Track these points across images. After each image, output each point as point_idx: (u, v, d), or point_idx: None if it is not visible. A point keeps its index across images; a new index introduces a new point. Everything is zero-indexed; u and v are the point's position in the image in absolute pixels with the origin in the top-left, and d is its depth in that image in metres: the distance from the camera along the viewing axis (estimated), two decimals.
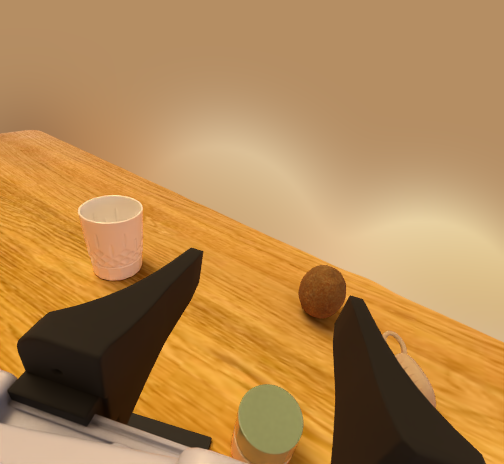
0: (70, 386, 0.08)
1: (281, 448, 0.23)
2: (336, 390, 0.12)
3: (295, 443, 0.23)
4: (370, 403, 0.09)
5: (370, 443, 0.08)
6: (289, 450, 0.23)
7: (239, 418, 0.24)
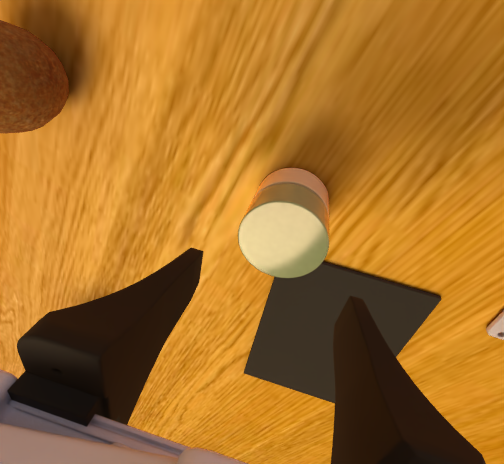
0: (70, 386, 0.08)
1: (322, 237, 0.17)
2: (336, 390, 0.12)
3: (317, 218, 0.16)
4: (370, 403, 0.09)
5: (370, 443, 0.08)
6: (324, 226, 0.17)
7: (286, 277, 0.19)
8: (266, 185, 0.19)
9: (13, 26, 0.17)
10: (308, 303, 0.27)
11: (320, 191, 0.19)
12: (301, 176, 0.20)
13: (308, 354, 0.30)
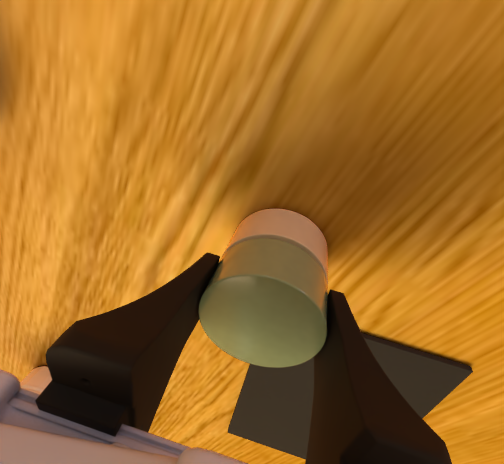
0: (98, 395, 0.08)
1: (318, 324, 0.12)
2: (315, 383, 0.12)
3: (310, 300, 0.11)
4: (341, 394, 0.09)
5: (339, 432, 0.08)
6: (321, 309, 0.11)
7: (268, 366, 0.14)
8: (241, 237, 0.14)
9: None
10: (302, 366, 0.22)
11: (315, 245, 0.14)
12: (289, 223, 0.14)
13: (303, 419, 0.25)
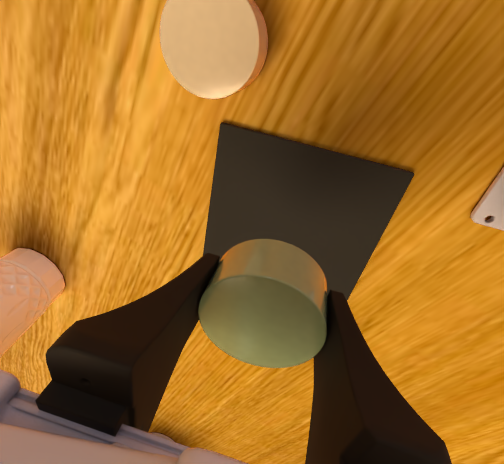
0: (98, 396, 0.08)
1: (318, 324, 0.12)
2: (314, 383, 0.12)
3: (310, 300, 0.11)
4: (341, 393, 0.09)
5: (339, 432, 0.08)
6: (320, 309, 0.11)
7: (267, 367, 0.14)
8: None
9: None
10: (257, 197, 0.22)
11: None
12: None
13: None
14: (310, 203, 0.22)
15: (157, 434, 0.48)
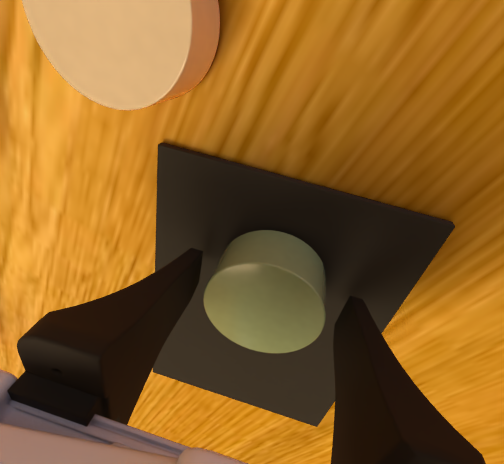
0: (70, 386, 0.08)
1: (317, 309, 0.12)
2: (336, 390, 0.12)
3: (309, 286, 0.12)
4: (370, 403, 0.09)
5: (370, 443, 0.08)
6: (319, 295, 0.12)
7: (269, 352, 0.14)
8: None
9: None
10: (220, 249, 0.15)
11: None
12: None
13: None
14: None
15: None
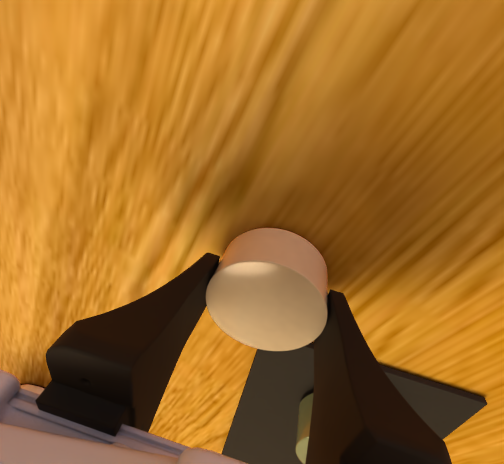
0: (98, 396, 0.08)
1: None
2: (314, 383, 0.12)
3: None
4: (341, 393, 0.09)
5: (339, 432, 0.08)
6: None
7: None
8: (229, 262, 0.12)
9: None
10: (300, 393, 0.20)
11: (313, 272, 0.12)
12: (284, 246, 0.13)
13: None
14: None
15: None
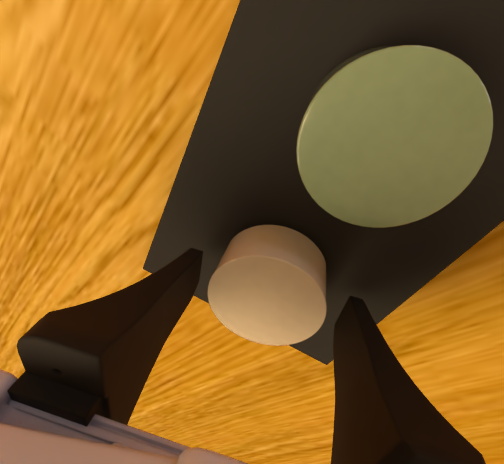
0: (70, 386, 0.08)
1: (476, 153, 0.09)
2: (336, 390, 0.12)
3: (489, 107, 0.08)
4: (370, 403, 0.09)
5: (370, 443, 0.08)
6: None
7: (360, 225, 0.10)
8: (231, 258, 0.13)
9: None
10: (316, 79, 0.11)
11: (313, 267, 0.13)
12: (284, 242, 0.13)
13: None
14: None
15: None
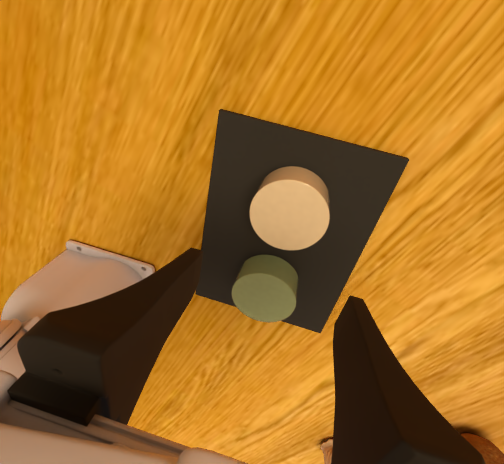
0: (70, 386, 0.08)
1: (236, 301, 0.25)
2: (336, 390, 0.12)
3: (241, 311, 0.26)
4: (370, 403, 0.09)
5: (370, 443, 0.08)
6: None
7: (258, 273, 0.23)
8: None
9: None
10: (298, 289, 0.27)
11: None
12: None
13: None
14: None
15: None
